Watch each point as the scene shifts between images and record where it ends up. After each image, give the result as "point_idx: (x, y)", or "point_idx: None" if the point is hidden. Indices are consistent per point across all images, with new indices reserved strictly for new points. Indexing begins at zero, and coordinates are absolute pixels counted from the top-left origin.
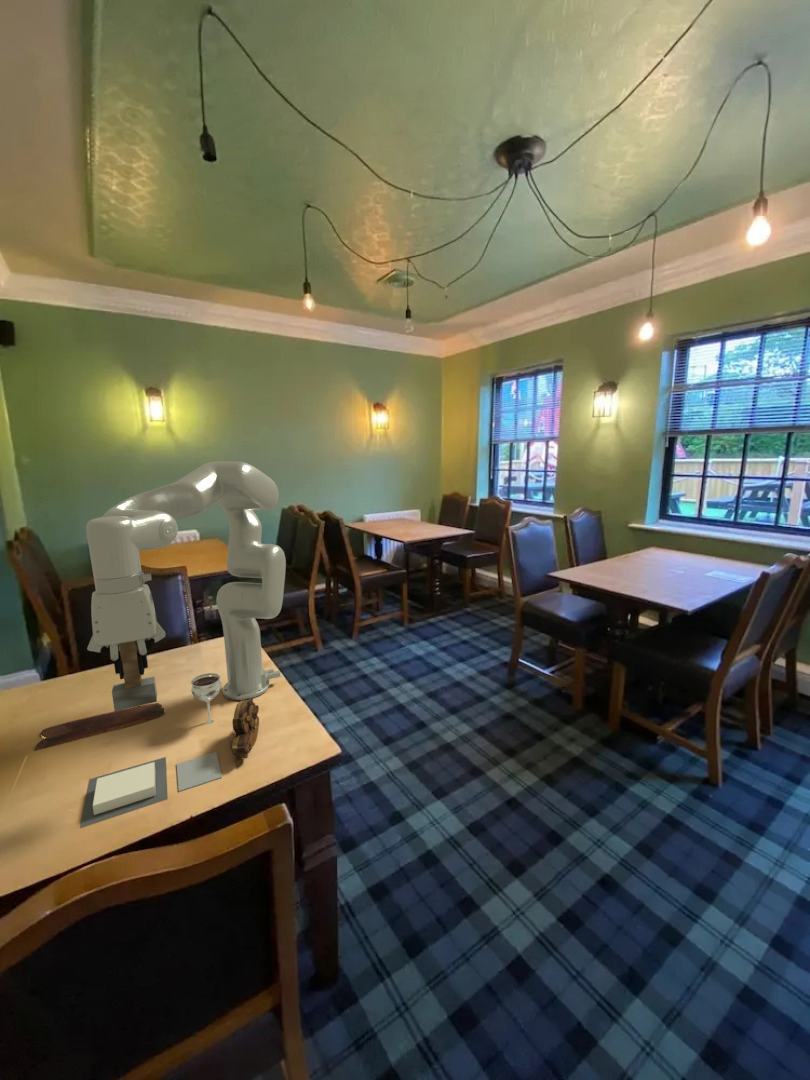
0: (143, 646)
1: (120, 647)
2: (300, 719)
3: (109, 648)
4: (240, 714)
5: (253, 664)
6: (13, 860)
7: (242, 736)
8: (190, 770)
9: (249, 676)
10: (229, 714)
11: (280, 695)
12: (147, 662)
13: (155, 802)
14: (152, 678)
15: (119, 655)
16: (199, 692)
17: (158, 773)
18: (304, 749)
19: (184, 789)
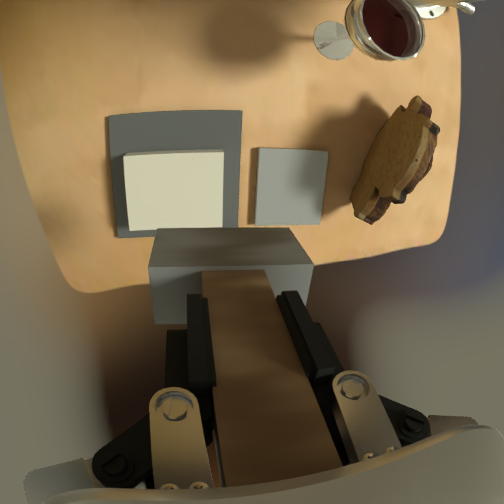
0: (344, 460)
1: None
2: (450, 139)
3: (145, 463)
4: (408, 188)
5: (467, 1)
6: (56, 251)
7: (382, 203)
8: (279, 181)
9: (442, 2)
10: None
11: (450, 47)
12: (321, 329)
13: None
14: (303, 279)
15: (207, 444)
16: (366, 48)
17: (226, 158)
18: (425, 214)
19: (263, 225)
